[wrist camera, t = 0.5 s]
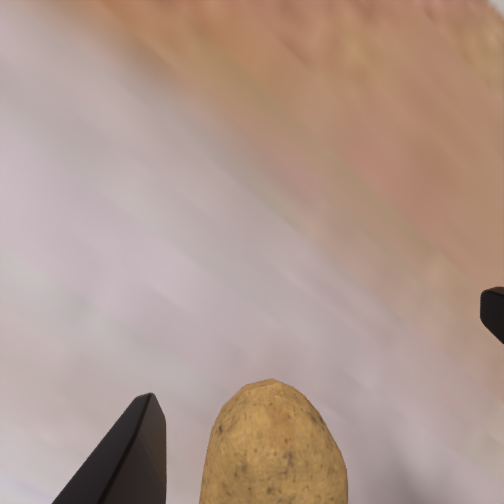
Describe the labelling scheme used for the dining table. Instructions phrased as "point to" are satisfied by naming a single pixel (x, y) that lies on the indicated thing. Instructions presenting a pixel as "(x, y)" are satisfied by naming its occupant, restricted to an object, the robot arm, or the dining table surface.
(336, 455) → the potato
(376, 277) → the dining table surface
